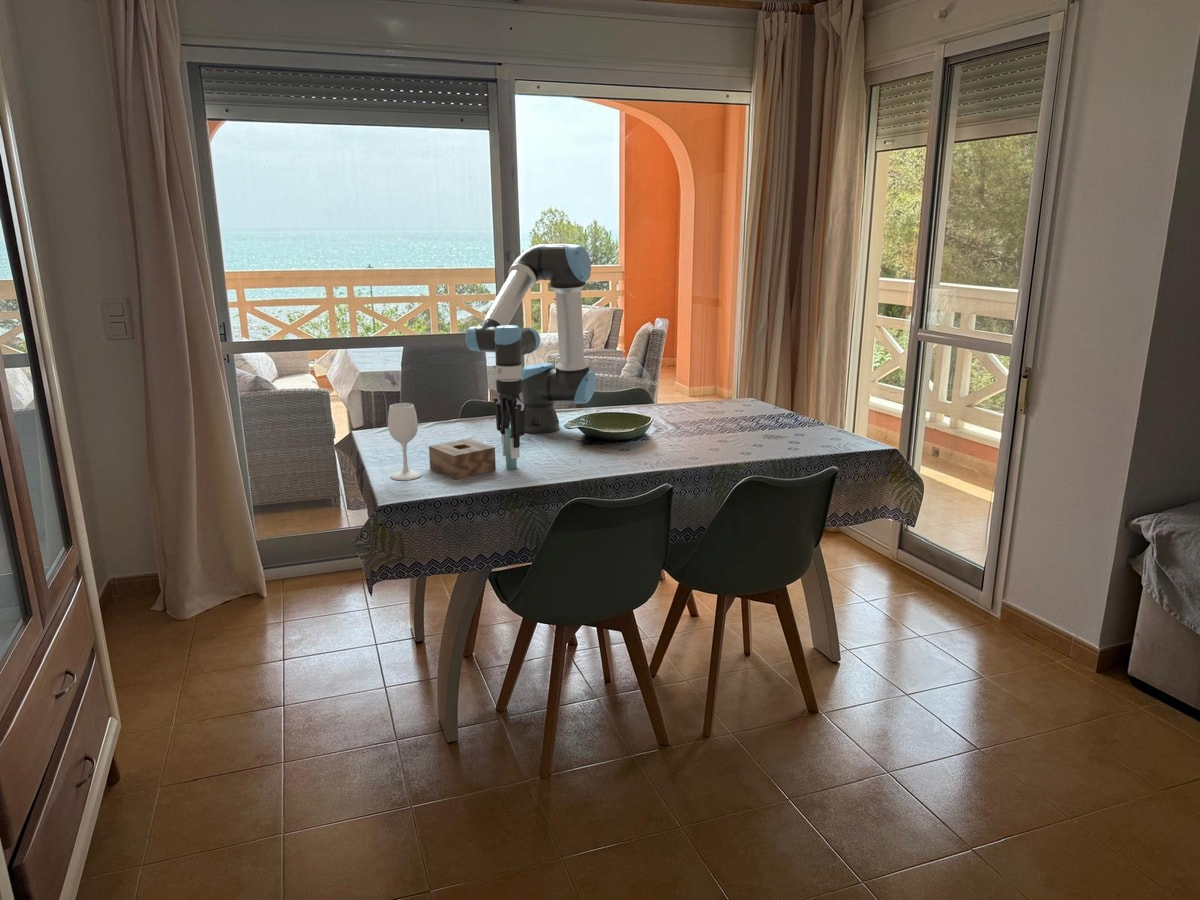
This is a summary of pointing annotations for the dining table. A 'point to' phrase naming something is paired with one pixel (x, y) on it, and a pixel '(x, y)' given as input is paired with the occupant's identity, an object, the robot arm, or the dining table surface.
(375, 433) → the dining table surface
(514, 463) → the dowel
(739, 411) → the dining table surface
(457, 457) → the socket block
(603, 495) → the dining table surface
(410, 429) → the wineglass
